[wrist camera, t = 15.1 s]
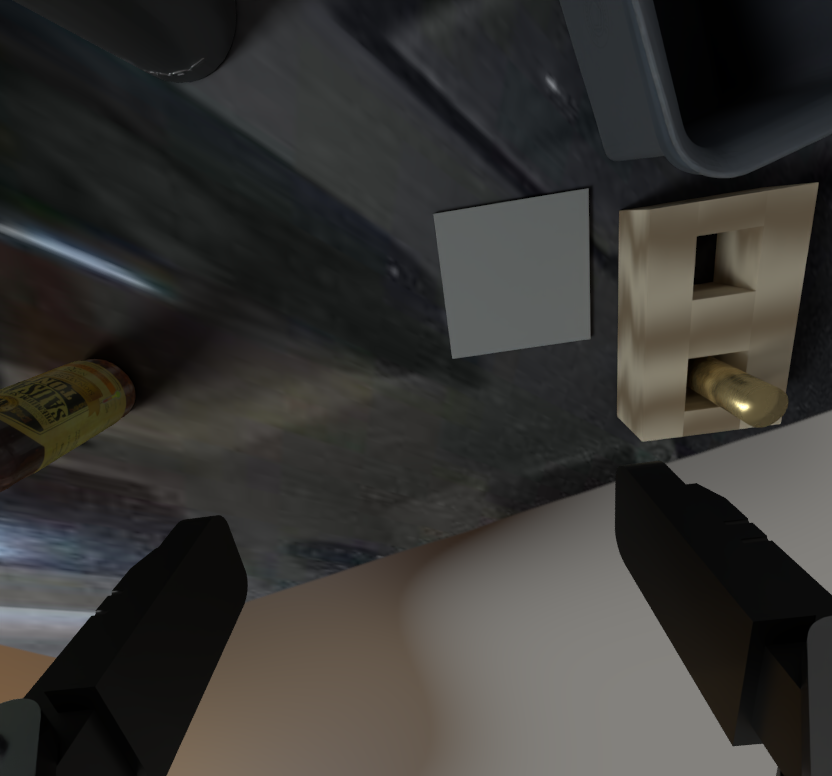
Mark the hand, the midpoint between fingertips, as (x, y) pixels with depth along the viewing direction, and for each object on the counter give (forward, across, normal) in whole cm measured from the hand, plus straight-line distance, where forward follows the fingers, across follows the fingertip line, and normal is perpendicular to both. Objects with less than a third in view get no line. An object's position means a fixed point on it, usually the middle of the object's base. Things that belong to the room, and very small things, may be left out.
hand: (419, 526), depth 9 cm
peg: (+30, -22, +10) cm, 39 cm away
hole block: (+30, -22, +5) cm, 38 cm away
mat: (+30, -8, 0) cm, 31 cm away
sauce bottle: (+30, +30, +4) cm, 43 cm away
